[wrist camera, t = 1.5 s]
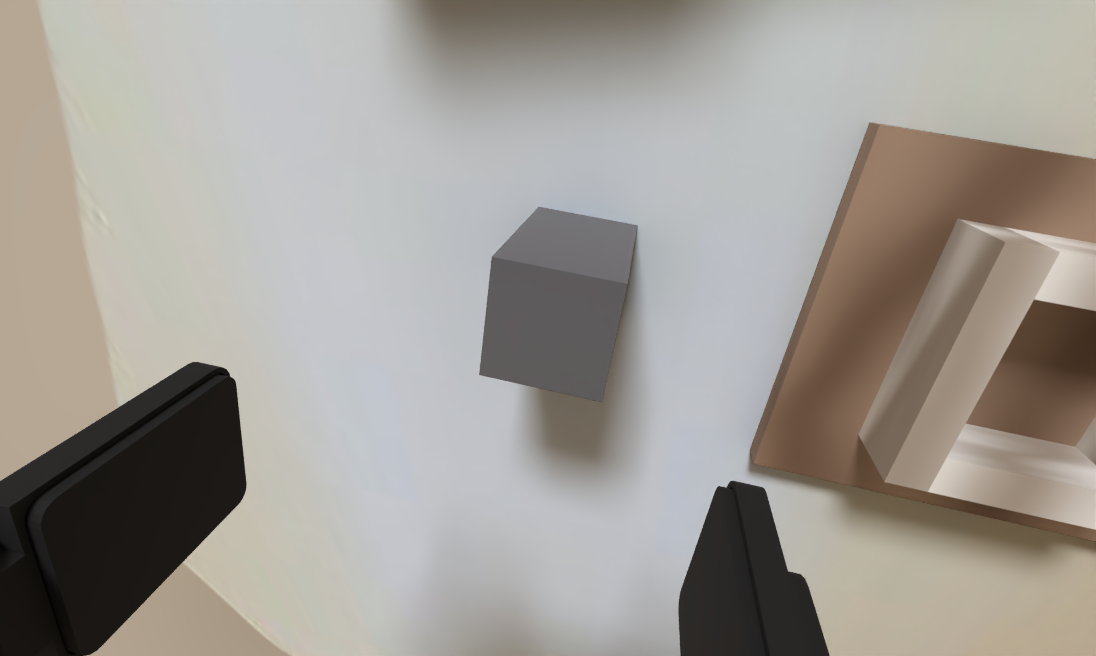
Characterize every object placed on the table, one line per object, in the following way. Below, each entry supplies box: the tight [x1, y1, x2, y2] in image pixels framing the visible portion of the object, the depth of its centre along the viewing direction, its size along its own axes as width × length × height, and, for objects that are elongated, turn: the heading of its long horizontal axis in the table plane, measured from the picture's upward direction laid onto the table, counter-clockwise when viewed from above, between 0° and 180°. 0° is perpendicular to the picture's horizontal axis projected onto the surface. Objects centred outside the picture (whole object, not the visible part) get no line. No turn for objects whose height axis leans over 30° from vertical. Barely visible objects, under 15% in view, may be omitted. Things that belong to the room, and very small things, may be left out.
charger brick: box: [479, 207, 637, 402], centre depth 20 cm, size 4×4×7 cm
